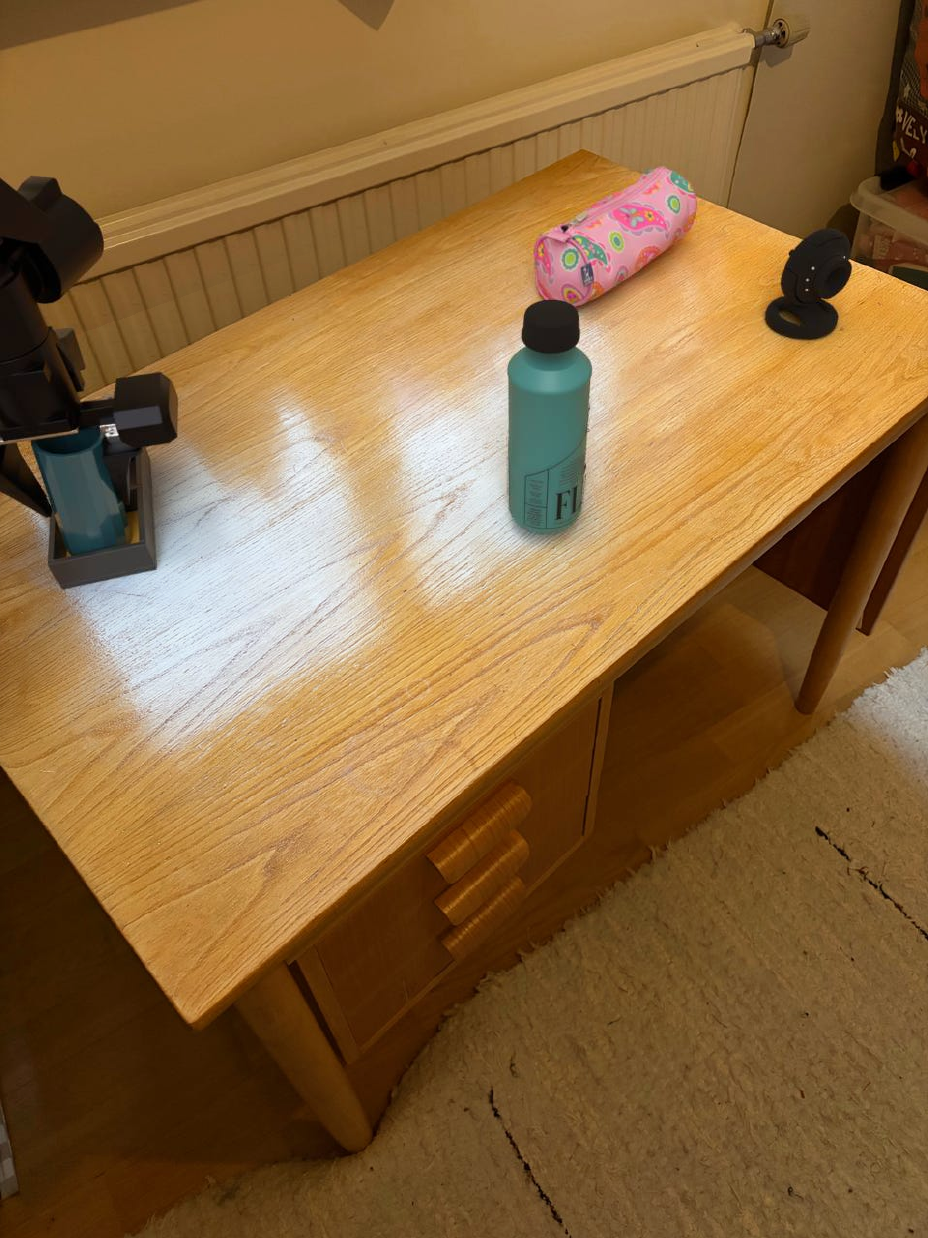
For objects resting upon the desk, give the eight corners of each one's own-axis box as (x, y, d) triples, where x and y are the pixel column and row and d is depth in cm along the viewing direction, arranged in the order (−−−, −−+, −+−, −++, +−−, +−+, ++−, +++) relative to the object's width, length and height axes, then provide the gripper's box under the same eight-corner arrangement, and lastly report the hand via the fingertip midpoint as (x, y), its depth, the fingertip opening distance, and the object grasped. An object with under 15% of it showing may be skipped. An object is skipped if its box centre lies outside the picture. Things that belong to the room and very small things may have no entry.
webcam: (795, 349, 91) (822, 256, 83) (748, 315, 95) (769, 225, 88) (852, 327, 93) (883, 235, 86) (804, 296, 98) (829, 205, 90)
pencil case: (583, 325, 95) (589, 245, 88) (520, 296, 100) (522, 217, 93) (697, 251, 105) (710, 173, 98) (635, 227, 109) (644, 151, 102)
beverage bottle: (555, 559, 73) (567, 348, 58) (490, 527, 76) (486, 317, 60) (596, 515, 76) (618, 303, 61) (533, 486, 79) (539, 277, 64)
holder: (156, 569, 74) (145, 544, 72) (61, 589, 73) (47, 564, 71) (150, 458, 83) (140, 433, 81) (65, 475, 82) (53, 450, 80)
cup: (52, 549, 74) (14, 442, 66) (94, 512, 77) (63, 407, 69) (104, 570, 73) (72, 465, 65) (144, 532, 76) (119, 427, 68)
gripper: (147, 263, 66) (202, 430, 78) (-111, 298, 64) (-14, 463, 76) (142, 344, 59) (203, 513, 71) (-148, 386, 57) (-35, 553, 69)
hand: (88, 507), depth 72 cm, fingers closed on cup, 6 cm apart
